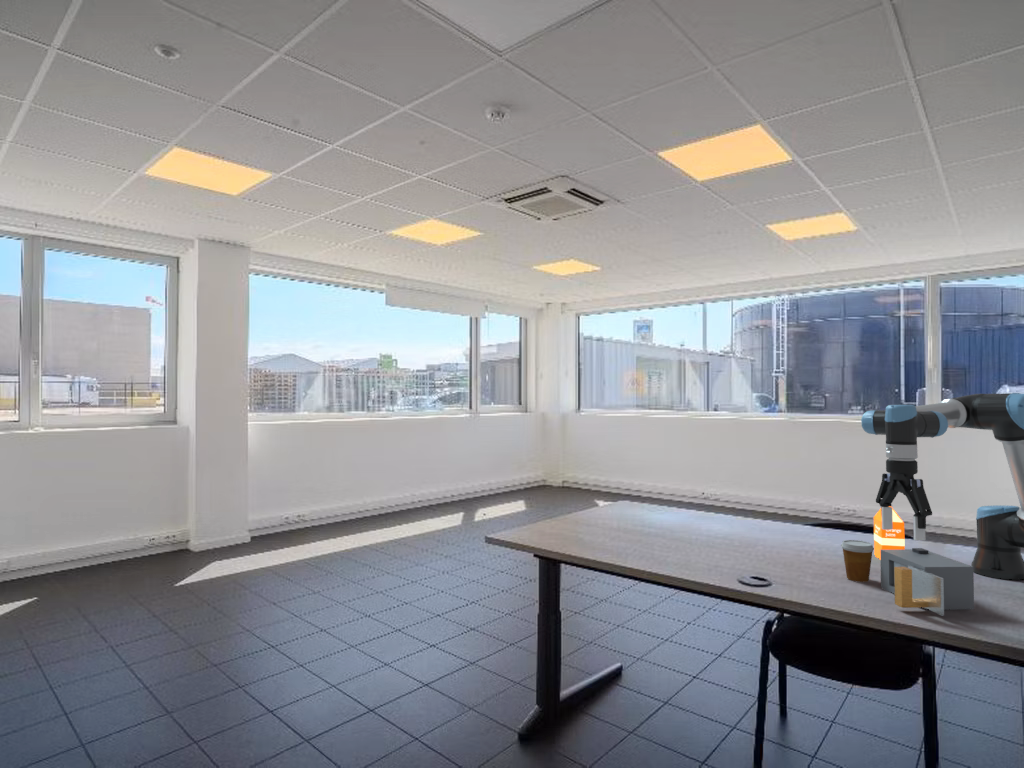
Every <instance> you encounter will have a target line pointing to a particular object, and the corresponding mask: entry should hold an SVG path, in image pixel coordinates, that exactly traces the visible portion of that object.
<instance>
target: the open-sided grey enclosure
mask: <svg viewBox="0 0 1024 768" xmlns="http://www.w3.org/2000/svg"><path fill="white" fill-rule="evenodd" d="M880 554H881V560H880V588H881V589H882V588H883V589H882V590H884V589H885V590H884V591H886V592H889V593H891V592H892V593H891V594H893V593H894V594H893V595H895V575H894V567H907V568H908V565H911V566H914V567H916V568H919V569H921V570H924V571H926V572H929V573H931V574H934V575H936V576H939V577H941V578H943V580H944V611H945V610H949V609H950V610H951V611H952V610H975V588H974V587H975V584H974V582H975V581H974V580H975V579H974V578H975V576H974V573H975V572H973V566H971V565H969V564H967V563H963V562H960V561H958V560H955V559H952V558H950V557H947V556H944V555H941V554H938V553H935V552H933V551H929V550H928V549H925V548H922V547H912V548H910V549H909V548H905V549H895V550H880ZM923 608H924V610H925V609H927V608H925V607H922V609H923ZM950 610H949V611H950Z"/></svg>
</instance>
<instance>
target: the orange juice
mask: <svg viewBox="0 0 1024 768" xmlns="http://www.w3.org/2000/svg"><path fill="white" fill-rule="evenodd" d="M888 507H892V505H891V506H888ZM872 518H873V548H874V550H873V554H874V555H875V556H874V555H873V556H874V557H875V558H877V559H878V558H879V559H878V560H880V561H881V554H880V550H895V549H906V545H905V544H906V539H905V522H904V521H903V519H902V518H901V517H900V516H899V514H898V513H897V512H896V510H895V509H894V508H893V507H892V519H893V530H883V529H882V516H881V508H880V509H879V510H878V511H877V512H876V513H875V515H874V516H873V517H872Z"/></svg>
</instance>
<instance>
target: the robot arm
mask: <svg viewBox="0 0 1024 768" xmlns="http://www.w3.org/2000/svg"><path fill="white" fill-rule="evenodd" d="M860 422H861V427H862V429H863V431H864V432H865V433H866V434H869V435H876V436H878V435H879V436H880V435H881V436H883V435H884V436H885V457H886V458H888V459H886V460H885V472H887V473H882V475H881V483H880V485H879V489H878V492H877V495H876V498H875V502H876V504H879V507H880V509H881V516H882V529H883V530H893V519H892V508H893V504H892V503H893V501H894V500H895V498H896V497H897V496H898V493H901V494H902V495H904V496H905V497H906V499H907V501H908V503H909V504H910V507H911V508H912V510H913V513H914V514H913V517H912V518H913V541H915V542H916V541H924V542H925V541H926V528H927V517H929V516H932V515H933V511H932V508H931V506H930V503H929V500H928V496H927V494H926V491H925V488H924V481H923V479H922V478H915V475H917V474H918V465H919V464H918V461H917V460H916V459H917V458H918V457H919V456H918V438H936V437H940V436H942V435H944V434H945V433H946V432H947V430H948V428H950V429H956V428H965V429H972V430H973V429H975V430H985V431H986V430H989V431H992V434H993V437H994V439H995V440H996V441H998V442H1001V443H1002V447H1003V450H1004V454H1005V458H1006V460H1007V464H1008V468H1009V471H1010V474H1011V475H1010V476H1011V478H1012V481H1013V484H1014V489H1015V491H1016V495H1017V498H1018V502H1019V504H1020V505H1019V506H1020V507H1019V506H1017V505H984V506H983V505H982V506H979V507H978V508H977V510H976V518H975V520H976V547H977V549H976V551H975V553H974V556H973V558H972V559H973V560H972V561H971V563H970V564H971V565H970V566H973V573H975V574H978V575H982V576H984V575H985V576H986V577H989V578H995V579H1000V578H1001V580H1009V579H1012V581H1015V580H1016V581H1018V580H1020V579H1024V558H1023V556H1022V554H1021V553H1022V551H1021V550H1022V549H1024V393H1020V392H1012V393H974V394H968V395H962V396H957V397H952V398H951V397H950V398H946V399H945V398H944V399H943V400H941V401H940V402H938V403H932V404H922V405H914V404H888V405H887V406H886V407H885V409H884V410H878V409H874V410H867V411H865V412H864V413H863V415H862V416H861V421H860ZM888 506H891V507H888ZM1021 548H1022V549H1021ZM985 576H984V577H985ZM1020 581H1021V580H1020Z"/></svg>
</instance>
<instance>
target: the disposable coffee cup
mask: <svg viewBox="0 0 1024 768" xmlns="http://www.w3.org/2000/svg"><path fill="white" fill-rule="evenodd" d="M840 547H841V549H842V552H843V553H842V554H843V560H844V567H845V573H846V579H847V578H848V579H847V580H849V581H851V582H852V581H853V582H856V581H857V583H867V582H869V580H870V574H871V565H872V557H873V553H874V544H872V543H871V542H869V541H868V542H867V541H863V540H859V539H858V540H855V539H845V540H842V543H841V545H840Z"/></svg>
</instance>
